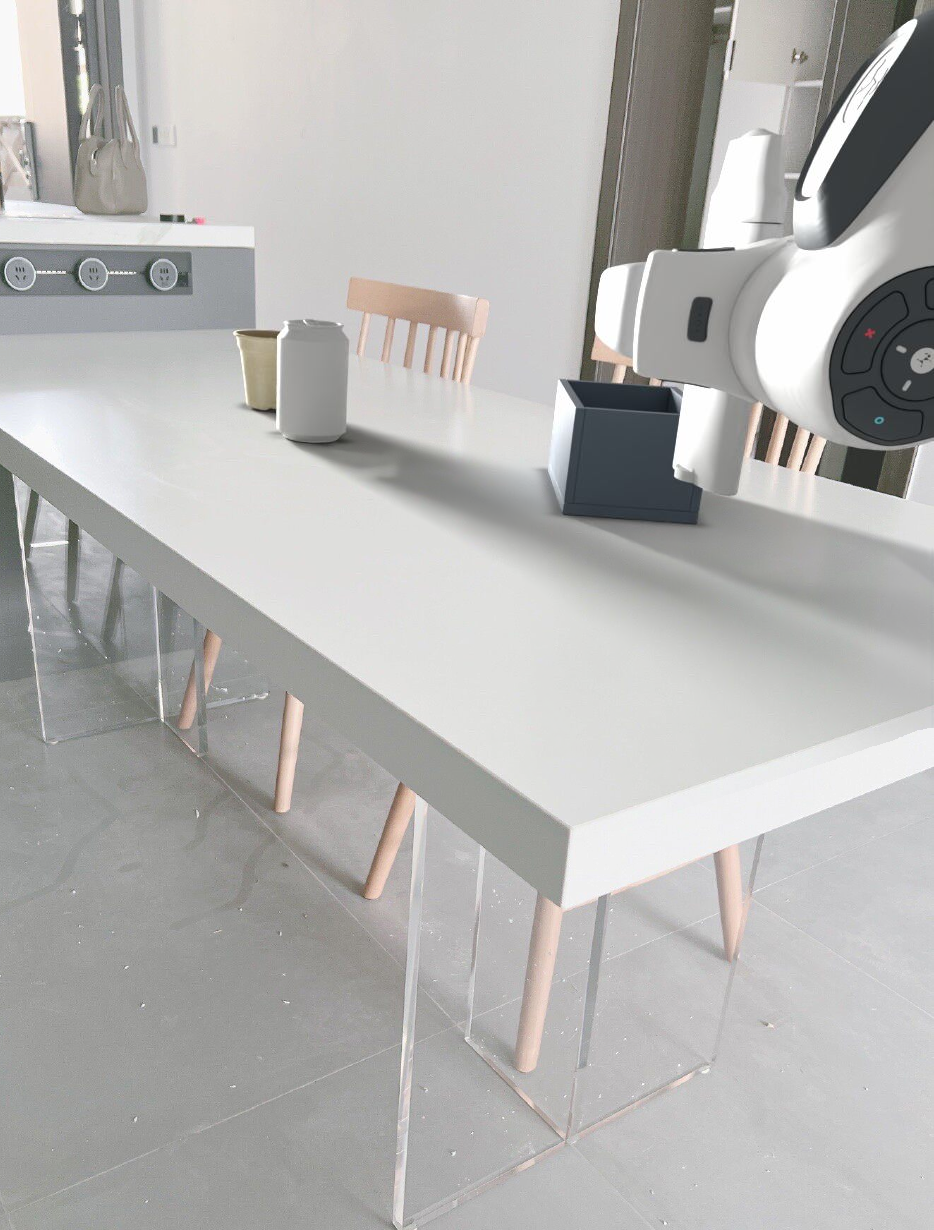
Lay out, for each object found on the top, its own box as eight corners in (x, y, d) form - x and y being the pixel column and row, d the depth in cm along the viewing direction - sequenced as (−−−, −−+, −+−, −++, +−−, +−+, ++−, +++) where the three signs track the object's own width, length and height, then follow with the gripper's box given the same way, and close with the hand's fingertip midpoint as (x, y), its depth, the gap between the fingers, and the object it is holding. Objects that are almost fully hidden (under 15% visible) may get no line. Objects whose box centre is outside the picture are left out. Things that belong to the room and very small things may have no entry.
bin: (662, 478, 107) (677, 386, 104) (696, 524, 91) (715, 417, 88) (547, 470, 108) (558, 378, 104) (562, 514, 92) (575, 407, 88)
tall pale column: (652, 462, 80) (697, 132, 71) (704, 463, 80) (756, 135, 71) (701, 496, 70) (761, 119, 61) (761, 497, 71) (828, 123, 62)
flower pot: (321, 406, 134) (323, 334, 131) (295, 417, 126) (296, 340, 122) (251, 398, 136) (252, 327, 133) (221, 408, 128) (221, 333, 124)
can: (289, 445, 111) (291, 324, 106) (267, 431, 117) (268, 315, 112) (355, 443, 114) (360, 325, 109) (331, 429, 120) (334, 317, 115)
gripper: (1023, 271, 54) (918, 261, 67) (623, 248, 55) (593, 242, 67) (988, 398, 57) (893, 366, 69) (607, 374, 57) (581, 347, 70)
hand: (743, 305), depth 68 cm, fingers closed on tall pale column, 2 cm apart
